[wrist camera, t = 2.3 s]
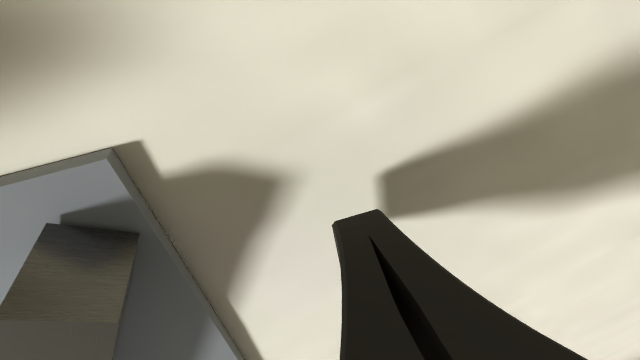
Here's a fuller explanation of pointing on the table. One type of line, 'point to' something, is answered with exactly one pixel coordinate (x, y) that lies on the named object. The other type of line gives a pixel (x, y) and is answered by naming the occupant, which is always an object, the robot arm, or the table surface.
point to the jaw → (69, 295)
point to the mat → (150, 262)
